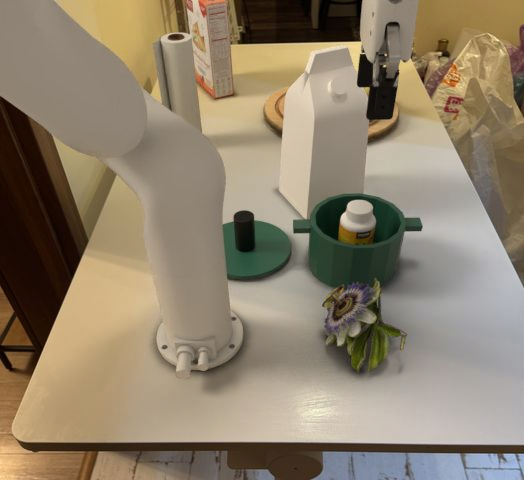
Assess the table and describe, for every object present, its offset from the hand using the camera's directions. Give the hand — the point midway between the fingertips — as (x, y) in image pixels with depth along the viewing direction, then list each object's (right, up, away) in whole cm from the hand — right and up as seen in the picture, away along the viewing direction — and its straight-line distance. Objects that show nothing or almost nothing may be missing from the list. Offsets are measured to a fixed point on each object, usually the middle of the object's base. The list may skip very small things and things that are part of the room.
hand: (373, 101), depth 67 cm
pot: (+1, -17, +20) cm, 26 cm away
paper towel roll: (-31, +14, +49) cm, 60 cm away
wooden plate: (+2, +23, +56) cm, 61 cm away
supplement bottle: (+1, -17, +19) cm, 26 cm away
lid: (-17, -15, +22) cm, 31 cm away
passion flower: (0, -31, +8) cm, 32 cm away
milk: (-3, -3, +33) cm, 33 cm away
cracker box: (-27, +37, +69) cm, 83 cm away
